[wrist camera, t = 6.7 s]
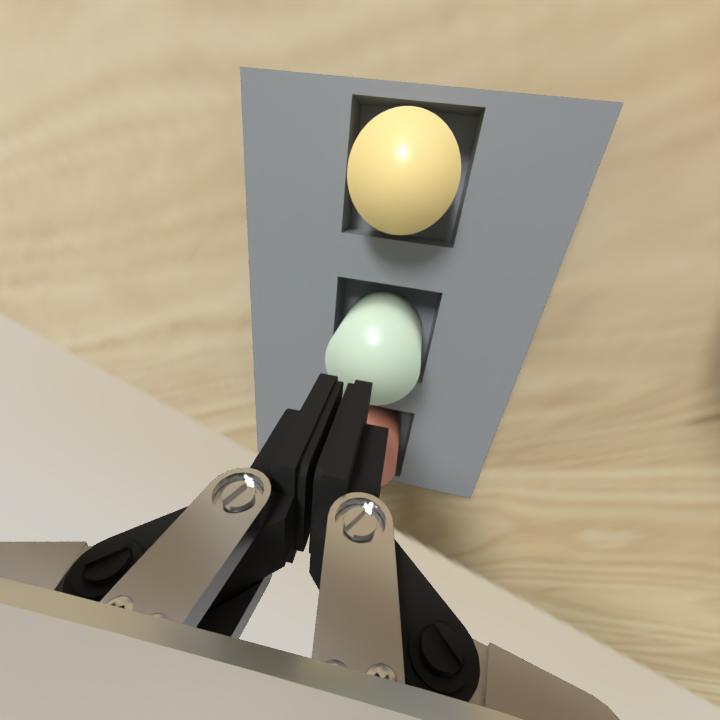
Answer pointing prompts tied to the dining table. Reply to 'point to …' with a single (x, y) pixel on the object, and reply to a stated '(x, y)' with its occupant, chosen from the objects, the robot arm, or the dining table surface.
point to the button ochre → (404, 170)
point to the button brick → (393, 422)
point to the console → (411, 248)
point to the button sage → (378, 346)
